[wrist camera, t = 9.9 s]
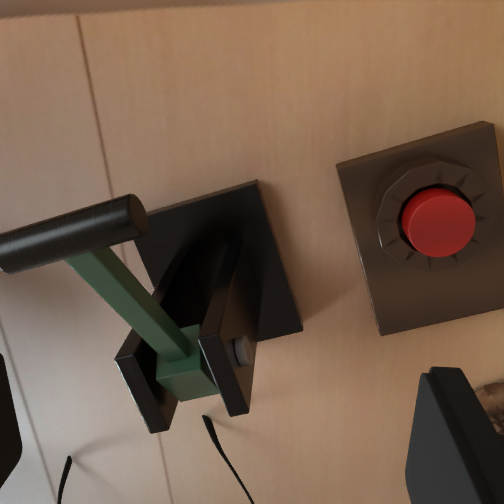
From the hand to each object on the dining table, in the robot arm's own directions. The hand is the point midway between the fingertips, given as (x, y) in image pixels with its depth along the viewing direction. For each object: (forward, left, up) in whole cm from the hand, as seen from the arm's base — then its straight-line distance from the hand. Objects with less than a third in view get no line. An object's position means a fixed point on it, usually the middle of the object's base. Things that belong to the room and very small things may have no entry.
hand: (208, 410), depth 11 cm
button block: (+6, +9, -22) cm, 25 cm away
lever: (+1, -5, -10) cm, 11 cm away
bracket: (+5, -5, -22) cm, 23 cm away
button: (+4, +9, -19) cm, 21 cm away
